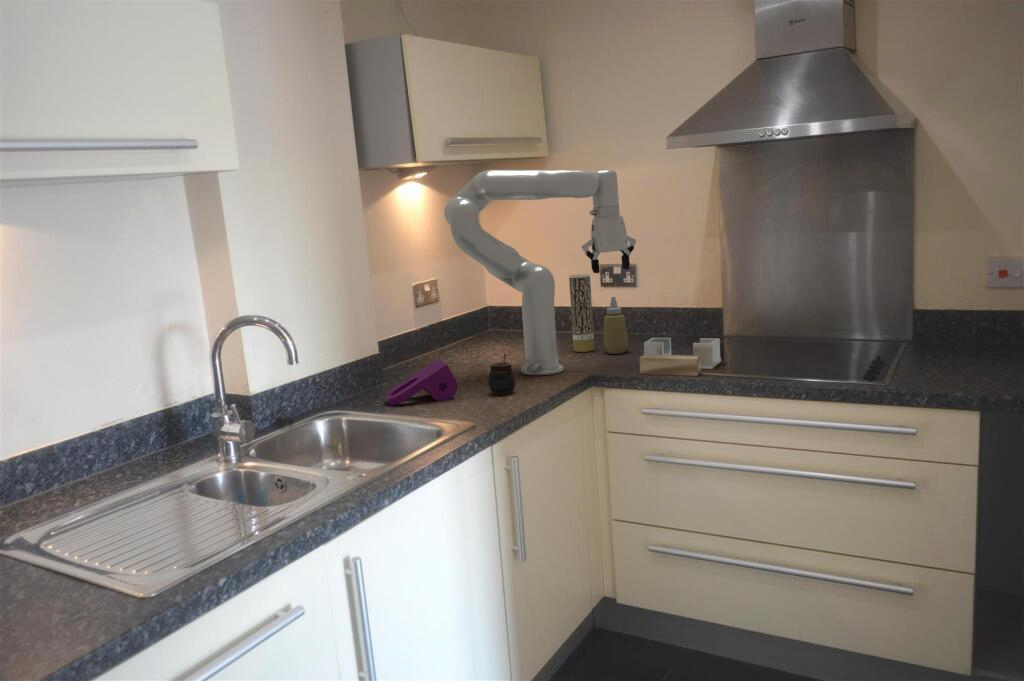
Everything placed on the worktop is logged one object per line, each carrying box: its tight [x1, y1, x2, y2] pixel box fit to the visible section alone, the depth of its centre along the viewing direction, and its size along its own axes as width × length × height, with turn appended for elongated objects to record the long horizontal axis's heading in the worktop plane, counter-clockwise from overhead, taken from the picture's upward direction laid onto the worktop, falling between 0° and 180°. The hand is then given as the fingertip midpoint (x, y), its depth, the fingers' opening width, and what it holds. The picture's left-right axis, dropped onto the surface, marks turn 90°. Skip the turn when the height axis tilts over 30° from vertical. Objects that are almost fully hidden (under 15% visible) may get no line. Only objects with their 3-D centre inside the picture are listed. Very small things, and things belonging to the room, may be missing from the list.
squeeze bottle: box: [602, 296, 629, 355], centre depth 269 cm, size 8×8×18 cm
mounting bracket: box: [384, 358, 458, 407], centre depth 225 cm, size 9×8×18 cm
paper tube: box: [568, 273, 595, 353], centre depth 276 cm, size 7×7×25 cm
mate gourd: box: [487, 353, 516, 396], centre depth 225 cm, size 7×8×10 cm
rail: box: [639, 354, 701, 377], centre depth 235 cm, size 4×16×5 cm, turn 64°
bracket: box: [643, 337, 722, 370], centre depth 245 cm, size 10×20×7 cm, turn 63°
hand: (611, 270), depth 251 cm, fingers open, 9 cm apart
